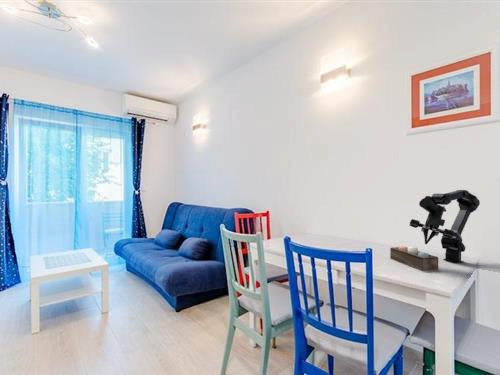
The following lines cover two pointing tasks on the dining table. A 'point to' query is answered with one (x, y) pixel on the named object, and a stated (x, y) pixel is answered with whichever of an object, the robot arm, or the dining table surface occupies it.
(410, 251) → the cream button
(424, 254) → the slate button
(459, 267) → the dining table surface
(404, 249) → the terracotta button
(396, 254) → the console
